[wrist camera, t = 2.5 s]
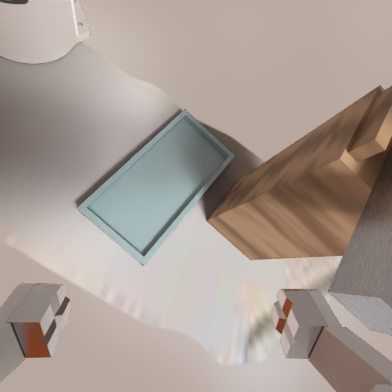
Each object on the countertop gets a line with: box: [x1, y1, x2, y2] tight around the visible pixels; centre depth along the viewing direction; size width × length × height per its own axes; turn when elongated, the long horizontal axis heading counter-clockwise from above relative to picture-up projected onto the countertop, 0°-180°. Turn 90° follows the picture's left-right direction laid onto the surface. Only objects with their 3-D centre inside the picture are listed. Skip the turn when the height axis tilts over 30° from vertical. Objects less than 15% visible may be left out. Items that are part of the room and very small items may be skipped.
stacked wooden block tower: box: [207, 86, 392, 260], centre depth 31 cm, size 10×10×28 cm
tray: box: [77, 109, 235, 265], centre depth 39 cm, size 24×12×2 cm, turn 141°
